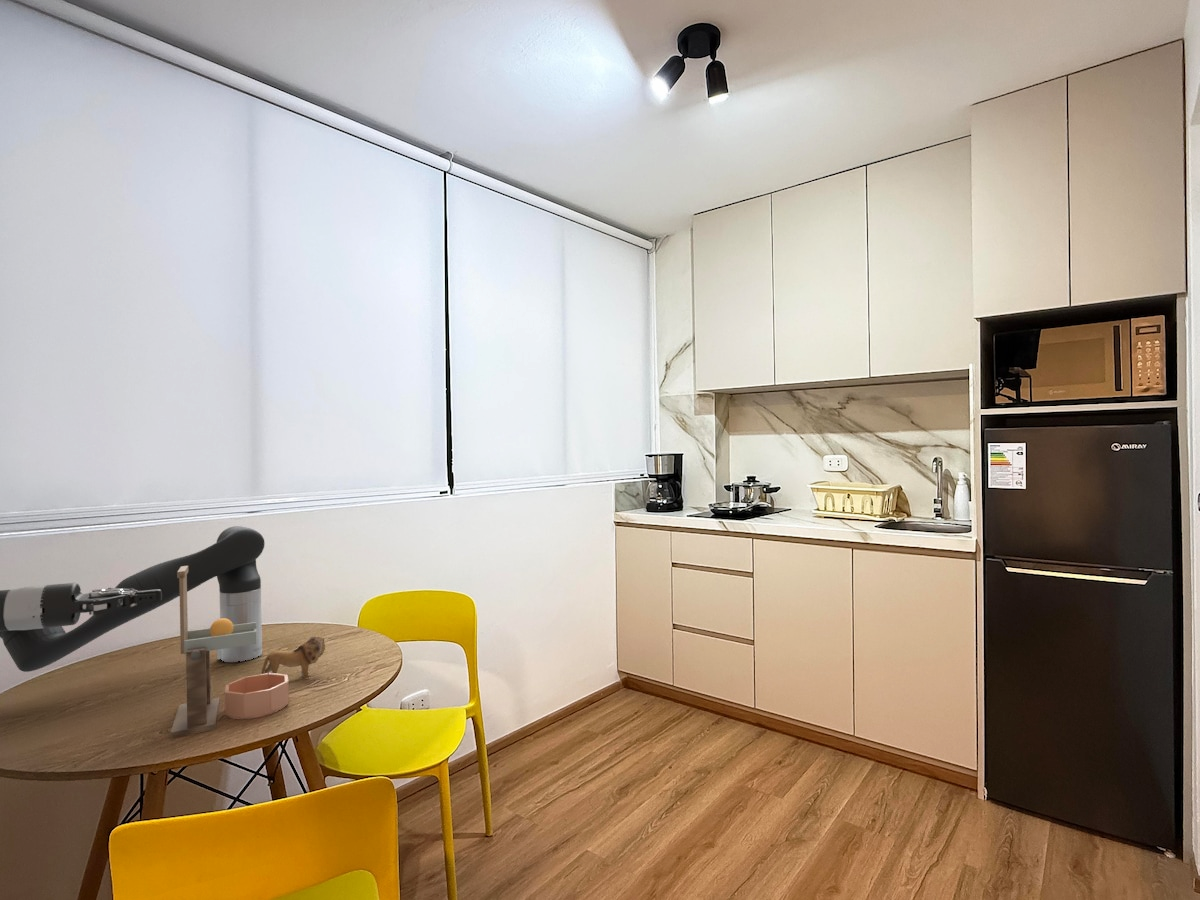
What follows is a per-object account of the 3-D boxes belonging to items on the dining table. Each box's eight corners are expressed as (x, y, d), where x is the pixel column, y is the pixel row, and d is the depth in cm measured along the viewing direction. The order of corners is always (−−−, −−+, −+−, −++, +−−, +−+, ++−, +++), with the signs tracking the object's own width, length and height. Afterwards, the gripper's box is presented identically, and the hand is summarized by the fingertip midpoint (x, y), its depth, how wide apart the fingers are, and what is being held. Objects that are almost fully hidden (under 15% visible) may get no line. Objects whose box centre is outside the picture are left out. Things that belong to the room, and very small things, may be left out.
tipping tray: (178, 655, 120) (176, 572, 120) (182, 644, 127) (181, 565, 127) (256, 644, 126) (254, 565, 126) (256, 634, 133) (255, 559, 133)
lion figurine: (325, 669, 152) (324, 631, 152) (326, 676, 147) (325, 637, 147) (255, 680, 145) (254, 641, 145) (254, 688, 140) (253, 647, 140)
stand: (170, 738, 116) (169, 655, 116) (179, 709, 129) (178, 635, 129) (215, 729, 119) (213, 649, 119) (219, 702, 133) (218, 629, 133)
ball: (205, 641, 125) (204, 620, 125) (221, 635, 129) (221, 615, 129) (222, 642, 124) (222, 621, 124) (238, 636, 128) (238, 616, 128)
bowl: (224, 724, 122) (223, 698, 122) (226, 703, 132) (226, 679, 132) (289, 711, 127) (289, 686, 127) (287, 693, 137) (287, 669, 137)
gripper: (54, 619, 119) (165, 607, 127) (32, 637, 107) (156, 623, 116) (53, 579, 119) (165, 570, 127) (32, 592, 107) (156, 581, 116)
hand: (161, 595), depth 122 cm, fingers closed
